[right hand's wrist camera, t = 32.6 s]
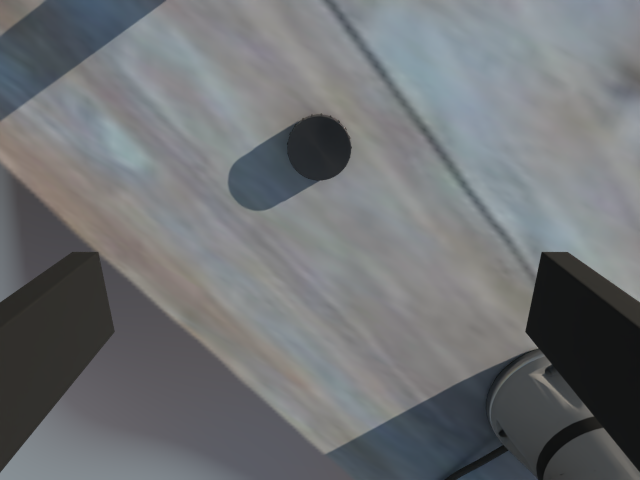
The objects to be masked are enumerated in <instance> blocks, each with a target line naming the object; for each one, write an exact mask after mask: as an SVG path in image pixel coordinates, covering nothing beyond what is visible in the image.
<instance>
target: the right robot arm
mask: <svg viewBox="0 0 640 480" xmlns="http://www.w3.org/2000/svg"><path fill="white" fill-rule="evenodd" d="M525 332H526V333H527V334H528V336H529V337H530V338H531V339H532V341H533V342H534V343H535V344H536V345H537V347H538V348H539V349H537V350H534V351H531V352H529V353H527V354H525V355H523V356H521V357H519V358H518V359H516V360H515V361H513V362H512V363H511V364H509V365H508V366H507V367H506V368H505V369H504V370H503V371H502V372H501V373H500V374H499V375H498V377H497V378H496V379H495V381H494V382H493V384H492V386H491V388H490V390H489V393H488V396H487V401H486V412H487V417H488V420H489V422H490V424H491V426H492V429H493V431H494V432H495V434H496V436H497V437H498V438H499V440H500V441H501V443H502V444H503V446H501V447H499V448H498V449H496V450H494V451H492V452H491V453H489V454H487V455H486V456H484V457H482V458H480V459H479V460H477V461H475V462H473V463H471V464H469V465H467V466H465V467H464V468H462V469H460V470H458V471H457V472H455V473H453V474H452V475H451V476H449V477H448V478H447V479H445V480H456V479H458V478H460V477H461V476H463V475H465V474H467V473H468V472H470V471H472V470H474V469H476V468H478V467H480V466H482V465H484V464H485V463H487V462H489V461H491V460H492V459H494V458H496V457H498V456H499V455H501V454H503V453H505V452H506V451H508V450H509V451H510V452H511V453H512V454H513V455H514V456H515V457H516V458H517V459H518V460H519V461H520V462H521V463H522V464H523V465H524V466H525V467H526V468H527V469H529V470H530V471H531V472H532V473H533V474H534V475H535V476H536V477H537V479H538V480H640V302H638V301H637V300H636V299H634V298H633V297H631V296H630V295H628V294H627V293H625V292H624V291H623V290H621V289H620V288H618V287H617V286H615V285H614V284H613V283H611V282H610V281H608V280H607V279H605V278H604V277H603V276H601V275H600V274H598V273H597V272H595V271H594V270H593V269H591V268H590V267H588V266H587V265H585V264H584V263H583V262H581V261H580V260H578V259H577V258H575V257H574V256H573V255H571V254H570V253H568V252H542V253H541V258H540V263H539V268H538V273H537V278H536V283H535V288H534V292H533V297H532V302H531V307H530V312H529V317H528V322H527V326H526V331H525ZM113 333H114V326H113V322H112V317H111V312H110V307H109V302H108V297H107V293H106V288H105V283H104V278H103V273H102V268H101V263H100V258H99V253H98V252H72V253H70V254H69V255H68V256H66V257H65V258H63V259H62V260H60V261H59V262H57V263H56V264H55V265H53V266H52V267H50V268H49V269H47V270H46V271H45V272H43V273H42V274H40V275H39V276H37V277H36V278H35V279H33V280H32V281H30V282H29V283H27V284H26V285H25V286H23V287H22V288H20V289H19V290H17V291H16V292H15V293H13V294H12V295H10V296H9V297H7V298H6V299H4V300H3V301H2V302H0V472H1V471H2V470H3V468H4V467H5V466H6V465H7V464H8V462H9V461H10V460H11V459H12V457H13V456H14V455H15V454H16V452H17V451H18V450H19V449H20V447H21V446H22V445H23V444H24V443H25V441H26V440H27V439H28V438H29V436H30V435H31V434H32V433H33V431H34V430H35V429H36V428H37V427H38V425H39V424H40V423H41V422H42V420H43V419H44V418H45V417H46V416H47V414H48V413H49V412H50V411H51V409H52V408H53V407H54V406H55V404H56V403H57V402H58V401H59V400H60V398H61V397H62V396H63V395H64V393H65V392H66V391H67V390H68V388H69V387H70V386H71V385H72V384H73V382H74V381H75V380H76V379H77V377H78V376H79V375H80V374H81V372H82V371H83V370H84V369H85V368H86V366H87V365H88V364H89V363H90V361H91V360H92V359H93V358H94V356H95V355H96V354H97V353H98V352H99V350H100V349H101V348H102V347H103V345H104V344H105V343H106V342H107V341H108V339H109V338H110V337H111V336H112V334H113Z"/></svg>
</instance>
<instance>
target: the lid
mask: <svg viewBox="0 0 640 480" xmlns="http://www.w3.org/2000/svg"><path fill="white" fill-rule="evenodd" d="M287 145H288V156H289V159H290V162H291V164H292V165H293V167H294V168H295V169H296V171H297V172H299V173H300V174H301V175H303V176H304V177H306V178H309V179H312V180H327V179H330V178H332V177H334V176H336V175H338V174H339V173H340V172H341V171H342V170H343V169H344V168H345V167H346V165H347V163H348V161H349V158H350V154H351V149H352V147H351V142H350V136H348V133H347V131H346V128H345V127H343V125H342V124H341V123H340V121H339V120H338V121H337V120H336V119H334V118H333V117H331V116H327V115H322V114H317V115H311V116H308V117H306V118H303V119H302V120H301V121H300V122H299V123H298V124H296V125H295V128H294V129H293V131H292V132H291V133H290V137H289V141H288V143H287Z"/></svg>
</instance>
